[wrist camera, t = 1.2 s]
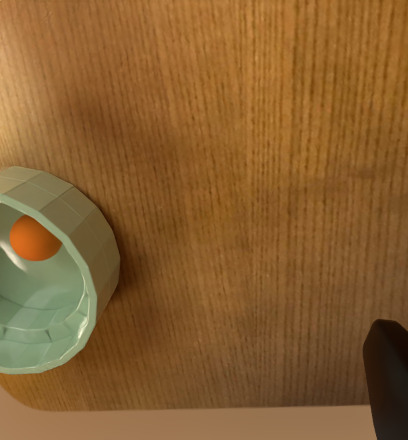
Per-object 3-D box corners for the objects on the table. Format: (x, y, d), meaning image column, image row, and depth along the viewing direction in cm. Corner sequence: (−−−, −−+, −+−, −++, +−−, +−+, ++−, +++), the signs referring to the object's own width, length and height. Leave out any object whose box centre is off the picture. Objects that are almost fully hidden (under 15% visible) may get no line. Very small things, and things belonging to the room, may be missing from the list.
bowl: (138, 316, 27) (118, 368, 22) (-14, 328, 28) (-62, 379, 24) (96, 152, 22) (61, 174, 18) (-81, 177, 24) (-156, 203, 19)
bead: (77, 245, 24) (56, 268, 22) (34, 249, 25) (9, 272, 22) (63, 202, 23) (40, 220, 21) (19, 207, 24) (-9, 226, 21)
